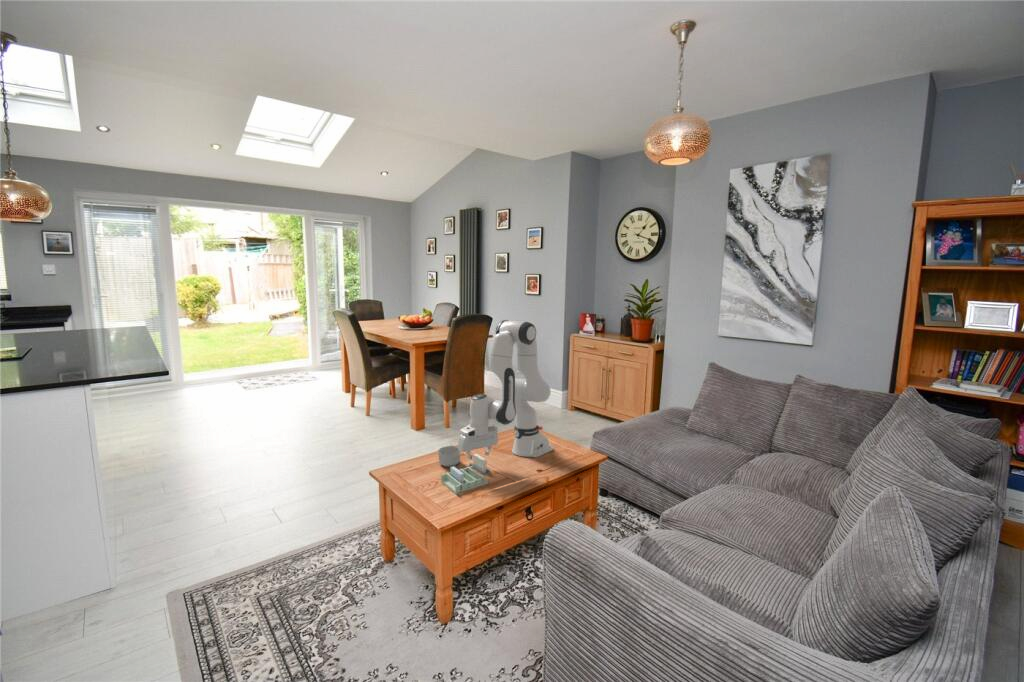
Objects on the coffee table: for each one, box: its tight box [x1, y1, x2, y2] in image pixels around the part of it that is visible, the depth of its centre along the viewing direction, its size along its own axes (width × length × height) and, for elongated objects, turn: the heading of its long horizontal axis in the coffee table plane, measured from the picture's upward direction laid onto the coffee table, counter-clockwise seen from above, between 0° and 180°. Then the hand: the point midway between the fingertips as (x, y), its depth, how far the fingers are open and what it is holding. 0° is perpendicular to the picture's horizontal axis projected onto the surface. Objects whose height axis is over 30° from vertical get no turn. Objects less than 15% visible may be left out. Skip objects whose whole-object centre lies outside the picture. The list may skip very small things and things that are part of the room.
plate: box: [472, 453, 487, 472], centre depth 217 cm, size 2×9×6 cm, turn 35°
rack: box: [440, 466, 489, 495], centre depth 203 cm, size 16×14×7 cm
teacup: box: [437, 444, 461, 468], centre depth 224 cm, size 14×11×8 cm
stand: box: [468, 462, 492, 476], centre depth 217 cm, size 5×13×2 cm, turn 35°
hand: (478, 456), depth 216 cm, fingers open, 8 cm apart
